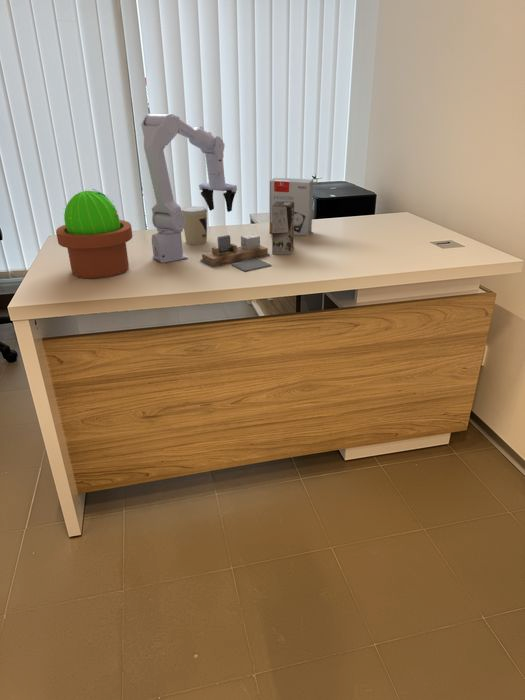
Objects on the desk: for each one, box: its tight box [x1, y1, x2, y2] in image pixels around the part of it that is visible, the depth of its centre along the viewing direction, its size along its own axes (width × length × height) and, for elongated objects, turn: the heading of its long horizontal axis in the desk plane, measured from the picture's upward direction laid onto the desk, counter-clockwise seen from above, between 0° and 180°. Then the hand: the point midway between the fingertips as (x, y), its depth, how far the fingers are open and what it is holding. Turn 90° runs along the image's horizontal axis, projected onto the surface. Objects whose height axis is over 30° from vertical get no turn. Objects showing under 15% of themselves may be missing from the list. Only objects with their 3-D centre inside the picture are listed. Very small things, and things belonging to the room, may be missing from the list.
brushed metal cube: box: [240, 233, 261, 251], centre depth 174 cm, size 5×4×4 cm
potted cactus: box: [55, 188, 133, 279], centre depth 158 cm, size 22×22×25 cm
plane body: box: [200, 243, 270, 268], centre depth 172 cm, size 22×8×5 cm, turn 123°
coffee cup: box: [181, 205, 208, 245], centre depth 190 cm, size 9×9×12 cm
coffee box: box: [271, 201, 295, 256], centre depth 177 cm, size 9×6×16 cm
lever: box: [217, 234, 232, 253], centre depth 169 cm, size 5×2×5 cm, turn 123°
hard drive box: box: [269, 177, 314, 237], centre depth 198 cm, size 16×8×20 cm, turn 73°
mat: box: [231, 258, 272, 273], centre depth 166 cm, size 10×8×1 cm
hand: (220, 210), depth 190 cm, fingers open, 7 cm apart
